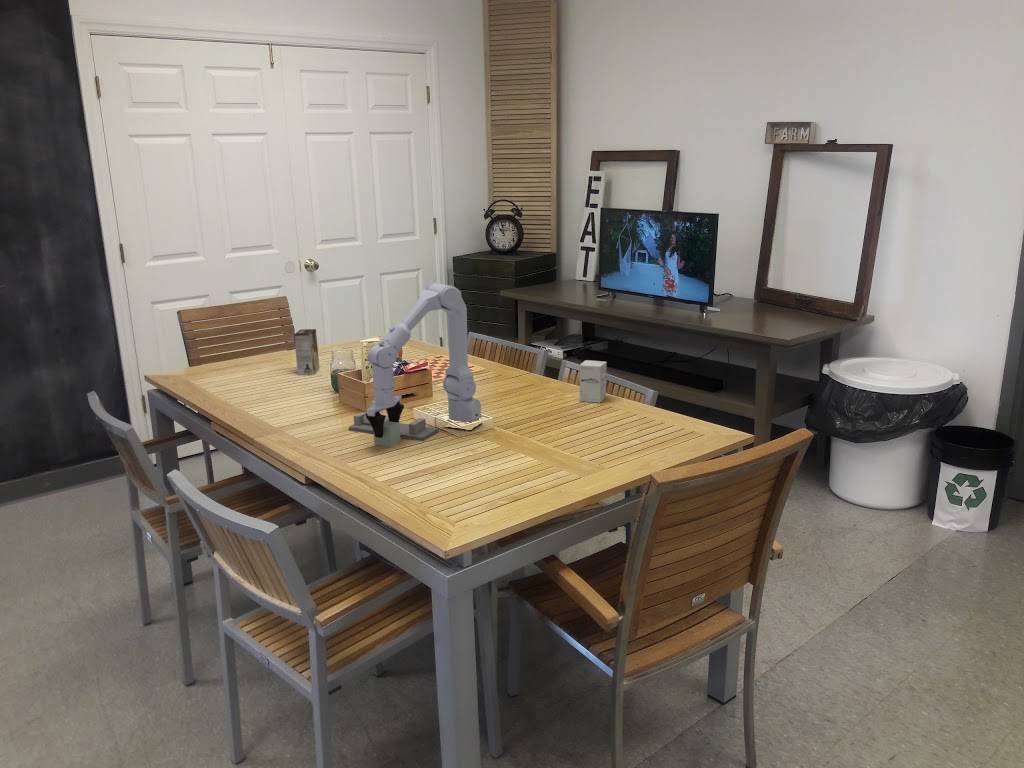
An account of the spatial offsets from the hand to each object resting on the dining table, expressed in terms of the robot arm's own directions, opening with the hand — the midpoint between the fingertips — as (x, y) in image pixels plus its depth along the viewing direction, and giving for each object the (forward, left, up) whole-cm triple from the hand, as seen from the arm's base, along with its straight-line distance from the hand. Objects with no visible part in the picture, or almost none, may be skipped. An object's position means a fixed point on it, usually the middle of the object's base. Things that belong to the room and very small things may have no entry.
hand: (386, 433), depth 233 cm
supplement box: (-40, -62, -3) cm, 74 cm away
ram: (+10, -10, -2) cm, 15 cm away
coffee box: (+74, -57, -3) cm, 94 cm away
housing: (0, 0, -3) cm, 3 cm away
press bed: (+4, -10, -3) cm, 11 cm away
